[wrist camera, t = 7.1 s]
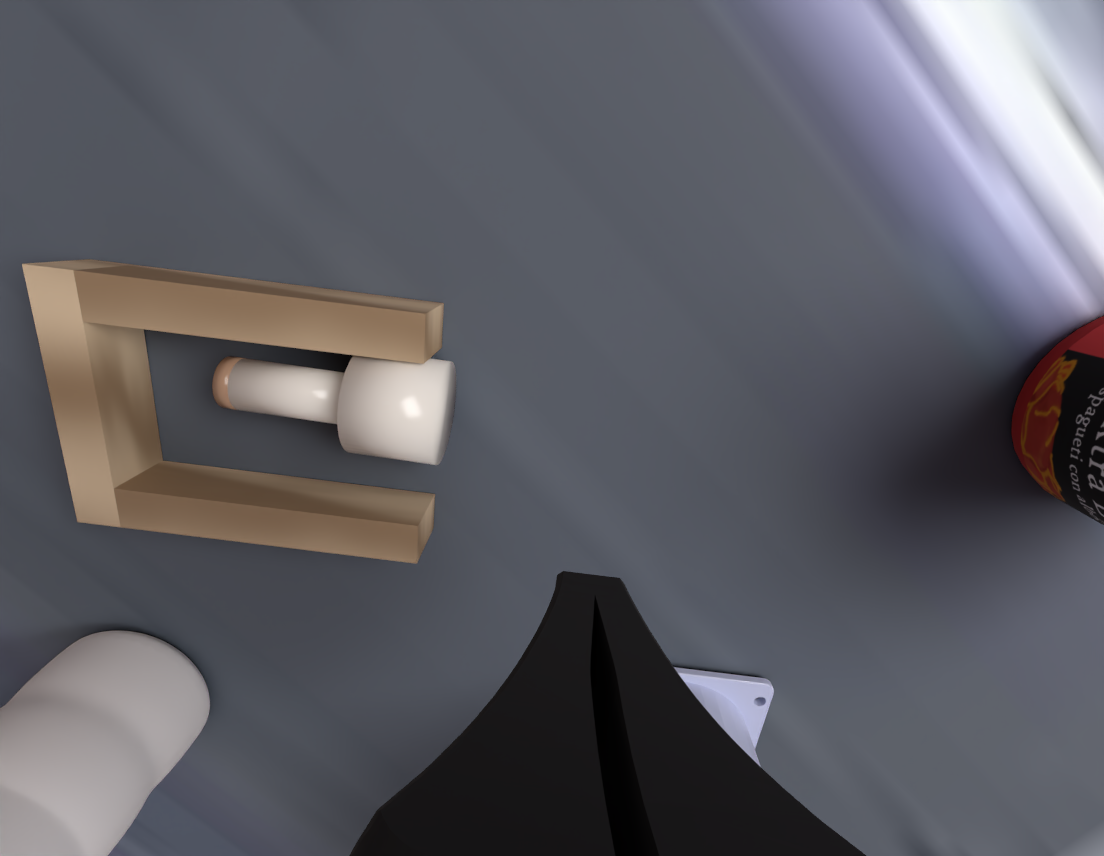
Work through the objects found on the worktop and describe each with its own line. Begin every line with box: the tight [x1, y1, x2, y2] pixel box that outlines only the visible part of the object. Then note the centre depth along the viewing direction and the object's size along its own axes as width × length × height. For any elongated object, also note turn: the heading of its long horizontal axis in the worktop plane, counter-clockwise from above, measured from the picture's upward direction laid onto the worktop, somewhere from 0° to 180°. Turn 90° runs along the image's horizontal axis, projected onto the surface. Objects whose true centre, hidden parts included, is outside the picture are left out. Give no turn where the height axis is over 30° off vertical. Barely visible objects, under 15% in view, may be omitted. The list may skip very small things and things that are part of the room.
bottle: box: [212, 355, 456, 465], centre depth 19 cm, size 4×4×8 cm
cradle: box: [22, 259, 444, 564], centre depth 20 cm, size 9×13×2 cm
